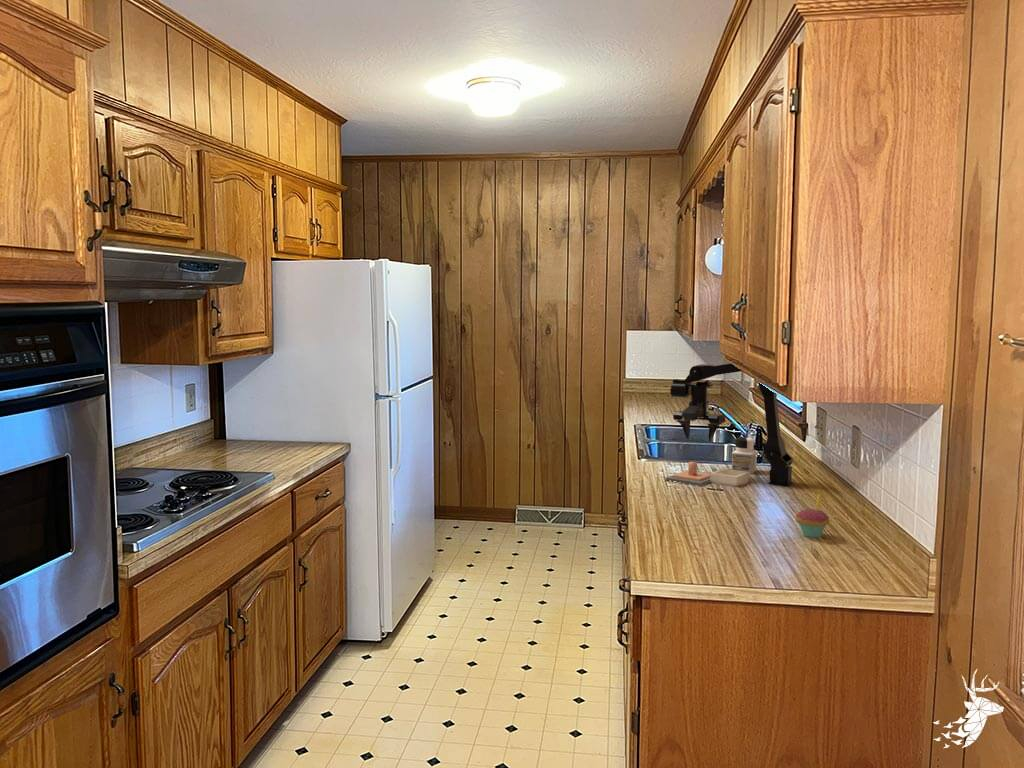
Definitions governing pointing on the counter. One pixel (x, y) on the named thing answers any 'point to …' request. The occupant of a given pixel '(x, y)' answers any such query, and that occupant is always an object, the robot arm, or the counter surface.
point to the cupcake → (812, 521)
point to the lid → (692, 473)
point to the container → (744, 455)
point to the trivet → (689, 481)
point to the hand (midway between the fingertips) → (698, 440)
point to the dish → (729, 477)
